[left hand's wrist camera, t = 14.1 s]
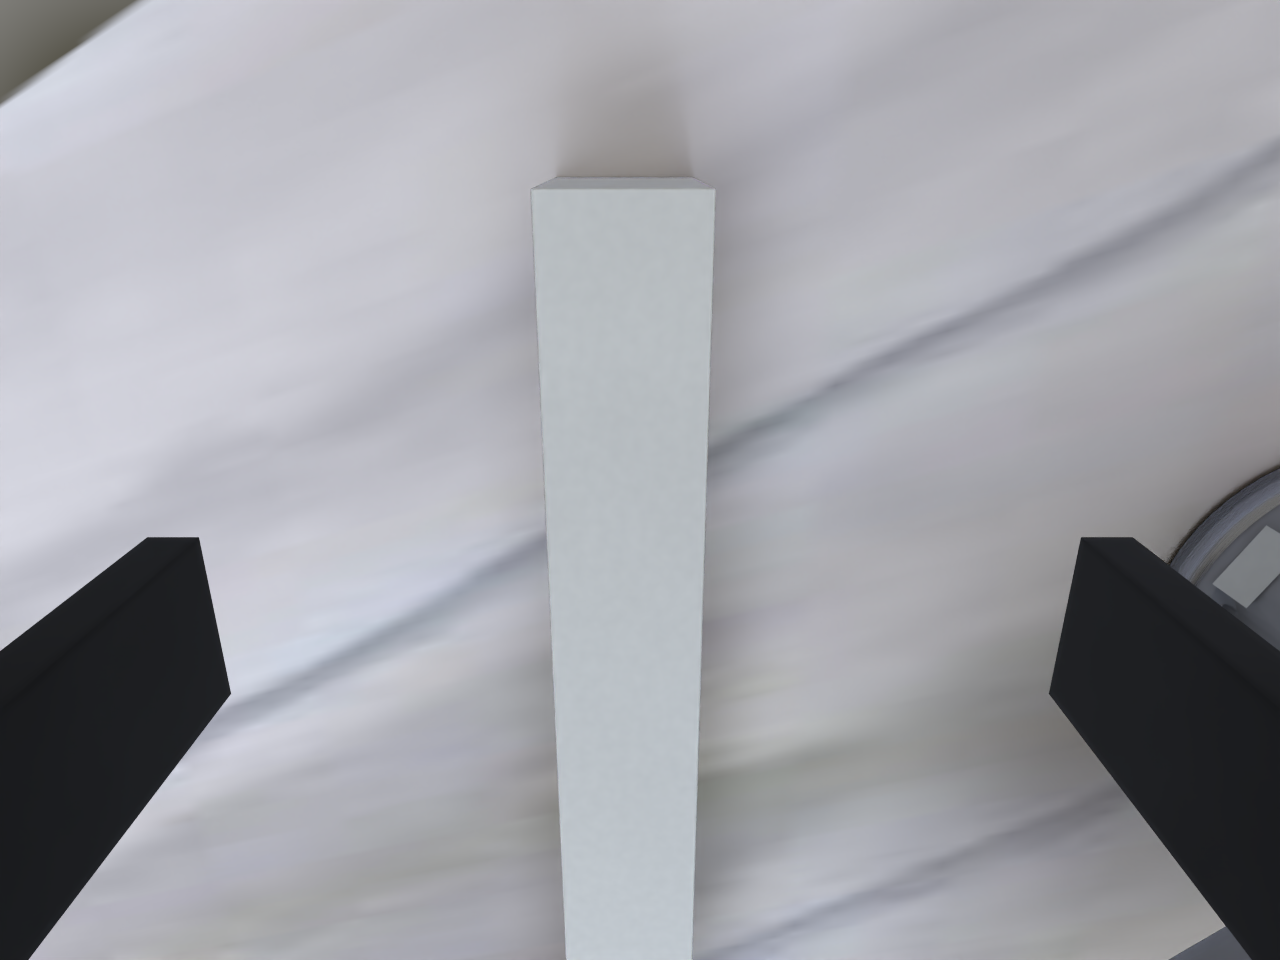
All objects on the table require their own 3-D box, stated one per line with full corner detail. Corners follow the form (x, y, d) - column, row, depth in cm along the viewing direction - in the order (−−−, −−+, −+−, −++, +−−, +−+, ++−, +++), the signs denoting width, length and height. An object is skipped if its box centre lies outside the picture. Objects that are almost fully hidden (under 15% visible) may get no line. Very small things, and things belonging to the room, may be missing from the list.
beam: (554, 177, 30) (530, 188, 23) (694, 177, 30) (716, 188, 23) (589, 1148, 50) (582, 1325, 43) (673, 1147, 50) (681, 1323, 43)
